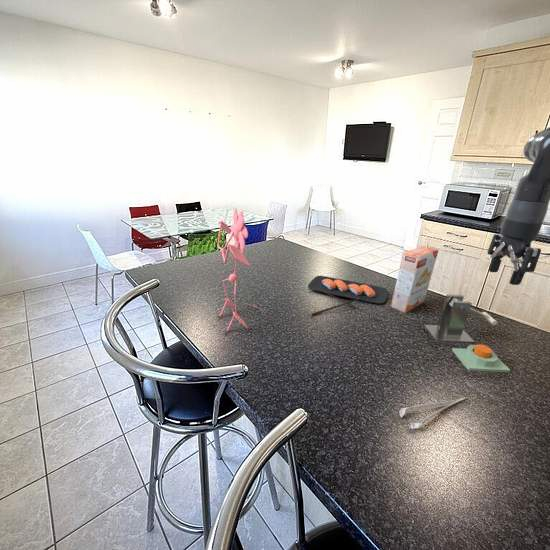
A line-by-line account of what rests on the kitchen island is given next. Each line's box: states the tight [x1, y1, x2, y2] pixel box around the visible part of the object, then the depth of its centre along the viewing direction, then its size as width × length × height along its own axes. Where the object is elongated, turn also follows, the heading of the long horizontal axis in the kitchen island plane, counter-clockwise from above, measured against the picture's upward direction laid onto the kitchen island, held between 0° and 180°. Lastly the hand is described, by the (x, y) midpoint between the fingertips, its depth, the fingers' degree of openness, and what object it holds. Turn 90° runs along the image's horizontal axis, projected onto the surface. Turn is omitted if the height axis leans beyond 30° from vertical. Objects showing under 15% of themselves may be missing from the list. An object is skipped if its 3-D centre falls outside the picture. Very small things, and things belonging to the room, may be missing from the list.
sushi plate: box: [307, 275, 389, 316], centre depth 106 cm, size 29×30×4 cm
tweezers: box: [399, 396, 467, 430], centre depth 62 cm, size 17×5×2 cm, turn 112°
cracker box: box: [390, 245, 439, 314], centre depth 100 cm, size 14×6×21 cm, turn 129°
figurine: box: [216, 208, 267, 343], centre depth 87 cm, size 15×26×35 cm, turn 23°
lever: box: [449, 298, 498, 326], centre depth 84 cm, size 13×5×2 cm, turn 88°
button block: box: [451, 344, 511, 373], centre depth 76 cm, size 10×8×4 cm
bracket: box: [423, 294, 476, 344], centre depth 85 cm, size 11×8×13 cm
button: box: [474, 343, 493, 358], centre depth 75 cm, size 4×4×2 cm
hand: (502, 277), depth 79 cm, fingers open, 8 cm apart
